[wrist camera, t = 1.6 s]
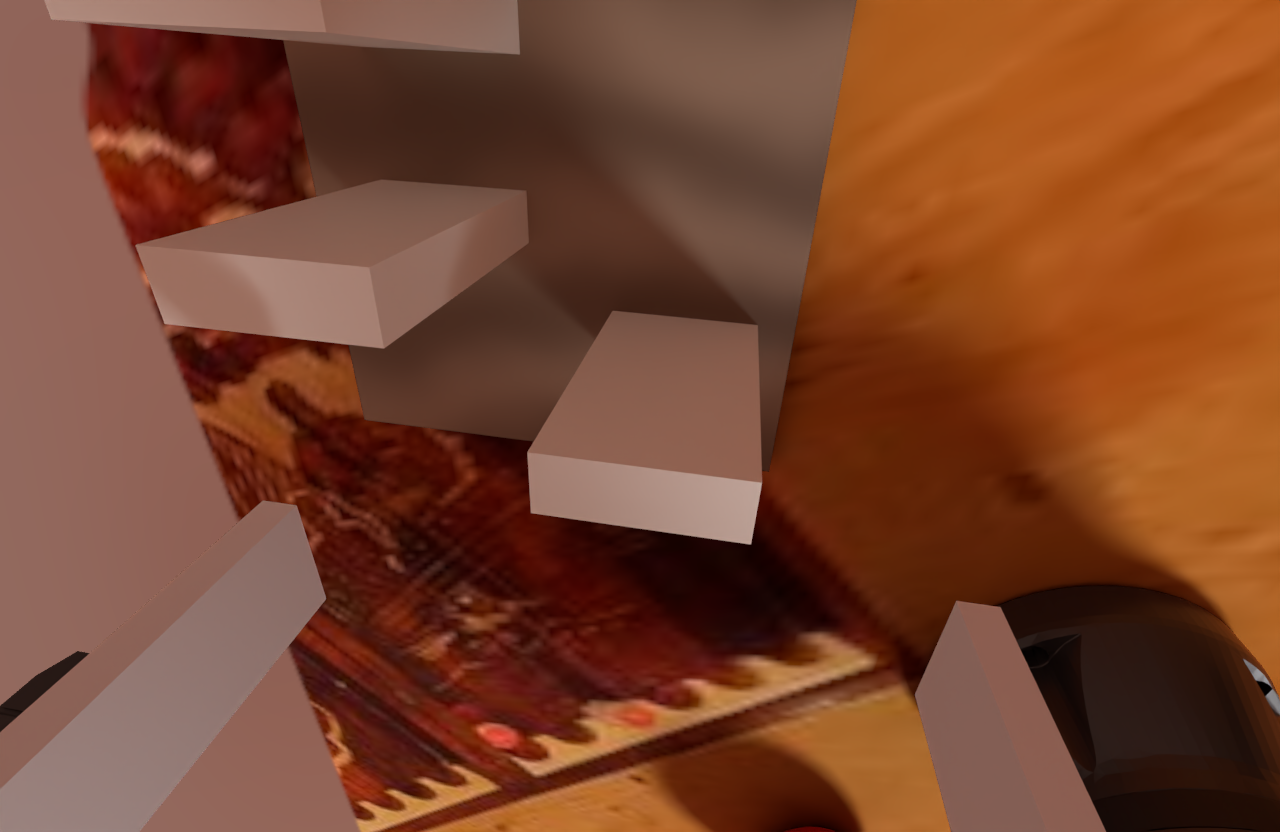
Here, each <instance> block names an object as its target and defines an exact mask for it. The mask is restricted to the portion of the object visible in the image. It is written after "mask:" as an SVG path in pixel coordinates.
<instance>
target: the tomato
mask: <svg viewBox="0 0 1280 832" xmlns="http://www.w3.org/2000/svg"><path fill="white" fill-rule="evenodd" d="M784 832H836V831H833V830H830V829H826V828H821V827H801V828H795V829H791V830H787V831H784Z"/></svg>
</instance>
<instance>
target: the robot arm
mask: <svg viewBox="0 0 1280 832" xmlns="http://www.w3.org/2000/svg"><path fill="white" fill-rule="evenodd" d="M325 600H326V596H325V593H324V590H323V587H322V584H321V580H320V577H319V574H318V571H317V568H316V565H315V562H314V558H313V555H312V552H311V549H310V546H309V543H308V539H307V536H306V533H305V530H304V527H303V524H302V521H301V517H300V514H299V511H298V508H297V505H291V504H284V503H277V502H270V501H262V502H261V503H260V504H258V505H257V506H256V507H255V508H254V509H253V510H252V511H251V512H249V513H248V514H247V515H246V516H245V517H244V518H243V519H241V520H240V521H239V522H238V523H237V524H236V525H235V526H234V527H232V528H231V529H230V530H229V531H228V532H227V533H226V534H224V535H223V536H222V537H221V538H220V539H219V540H218V541H216V542H215V543H214V544H213V545H212V546H211V547H210V548H209V549H207V550H206V551H205V552H204V553H203V554H202V555H201V556H199V557H198V558H197V559H196V560H195V561H194V562H193V563H192V564H190V565H189V566H188V567H187V568H186V569H185V570H184V571H183V572H181V573H180V574H179V575H178V576H177V577H176V578H175V579H173V580H172V581H171V582H170V583H169V584H168V585H167V586H166V587H164V588H163V589H162V590H161V591H160V592H159V593H158V594H156V595H155V596H154V597H153V598H152V599H151V600H150V601H148V602H147V603H146V604H145V605H144V606H143V607H142V608H140V609H139V610H138V611H137V612H136V613H135V614H134V615H133V616H131V617H130V618H129V619H128V620H127V621H126V622H125V623H124V624H122V625H121V626H120V627H119V628H118V629H117V630H116V631H114V632H113V633H112V634H111V635H110V636H109V637H108V638H107V639H105V640H104V641H103V642H102V643H101V644H100V645H99V646H97V647H96V648H95V649H94V650H93V651H92V652H91V653H85V652H79V651H77V652H76V653H74V654H72V655H71V656H69V657H67V658H65V659H64V660H62V661H60V662H59V663H57V664H55V665H53V666H52V667H50V668H48V669H47V670H45V671H43V672H41V673H40V674H38V675H36V676H35V677H34V678H33V679H31V680H30V681H29V682H28V683H27V684H26V685H24V686H23V687H22V688H21V689H20V690H19V691H17V692H16V693H15V694H14V695H13V696H11V697H10V698H9V699H8V700H7V701H6V702H4V703H3V704H2V705H1V706H0V832H139V831H140V830H141V829H142V828H143V827H144V825H145V824H146V823H147V822H148V820H149V819H150V818H151V817H152V815H153V814H154V813H155V812H156V810H157V809H158V808H159V807H160V805H161V804H162V803H163V801H164V800H165V799H166V798H167V797H168V795H169V794H170V793H171V792H172V790H173V789H174V788H175V786H176V785H177V784H178V783H179V782H180V780H181V779H182V778H183V777H184V775H185V774H186V773H187V772H188V770H189V769H190V768H191V767H192V765H193V764H194V763H195V762H196V760H197V759H198V758H199V757H200V755H201V754H202V753H203V752H204V750H205V749H206V748H207V747H208V746H209V744H210V743H211V742H212V741H213V739H214V738H215V737H216V736H217V734H218V733H219V732H220V730H221V729H222V728H223V727H224V726H225V724H226V723H227V722H228V721H229V719H230V718H231V717H232V716H233V714H234V713H235V712H236V710H237V709H238V708H239V707H240V706H241V704H242V703H243V702H244V701H245V699H246V698H247V696H249V694H250V693H251V692H252V690H253V689H254V688H255V687H256V686H257V684H258V683H259V682H260V681H261V679H262V678H263V677H264V676H265V674H266V673H267V672H268V671H269V670H270V668H271V667H272V666H273V664H274V663H275V662H276V661H277V659H278V658H279V657H280V656H281V655H282V653H283V652H284V650H286V648H287V647H288V646H289V645H290V643H291V642H292V641H293V640H294V638H295V637H296V636H297V635H298V633H299V632H300V631H301V630H302V628H303V627H304V626H305V625H306V623H307V622H308V621H309V620H310V618H311V617H312V616H313V615H314V613H315V612H316V611H317V610H318V608H319V607H320V606H321V605H322V603H323V602H324V601H325ZM915 698H916V701H917V705H918V709H919V713H920V716H921V720H922V724H923V728H924V731H925V735H926V739H927V743H928V746H929V750H930V754H931V758H932V761H933V765H934V769H935V773H936V776H937V780H938V784H939V788H940V791H941V795H942V799H943V803H944V806H945V810H946V814H947V818H948V821H949V825H950V829H951V832H1280V700H1279V697H1278V694H1277V692H1276V689H1275V687H1274V685H1273V683H1272V681H1271V679H1270V678H1269V676H1268V674H1267V673H1266V671H1265V670H1264V668H1263V667H1262V665H1261V664H1260V663H1259V662H1258V661H1257V660H1256V658H1255V657H1254V656H1253V655H1252V654H1251V653H1250V652H1249V650H1248V649H1247V648H1246V647H1245V646H1244V645H1243V643H1242V642H1241V641H1240V640H1239V639H1238V638H1237V637H1236V635H1235V634H1234V633H1233V632H1232V631H1231V630H1230V629H1229V628H1228V627H1227V626H1226V625H1225V624H1224V623H1223V622H1222V621H1221V620H1220V619H1218V618H1217V617H1216V616H1214V615H1213V614H1211V613H1210V612H1208V611H1207V610H1205V609H1203V608H1201V607H1199V606H1197V605H1195V604H1193V603H1191V602H1188V601H1186V600H1183V599H1180V598H1178V597H1175V596H1171V595H1168V594H1165V593H1160V592H1156V591H1152V590H1146V589H1140V588H1132V587H1121V586H1082V587H1070V588H1063V589H1056V590H1050V591H1045V592H1040V593H1036V594H1032V595H1028V596H1025V597H1021V598H1018V599H1015V600H1012V601H1009V602H1007V603H1004V604H1001V605H999V606H990V605H983V604H976V603H969V602H962V601H956V603H955V605H954V607H953V609H952V612H951V614H950V616H949V618H948V621H947V623H946V625H945V627H944V630H943V632H942V634H941V636H940V639H939V641H938V643H937V646H936V648H935V650H934V652H933V655H932V657H931V659H930V661H929V663H928V665H927V667H926V670H925V673H924V675H923V677H922V679H921V682H920V684H919V686H918V688H917V691H916V693H915Z"/></svg>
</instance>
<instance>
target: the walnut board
mask: <svg viewBox="0 0 1280 832" xmlns="http://www.w3.org/2000/svg"><path fill="white" fill-rule="evenodd" d="M856 1H857V0H517V3H518V24H519V45H520V55H519V54H499V53H478V52H458V51H437V50H417V49H396V48H376V47H357V46H346V45H334V44H323V43H312V42H300V41H289V40H283V42H284V47H285V51H286V56H287V61H288V65H289V70H290V75H291V79H292V84H293V89H294V93H295V98H296V103H297V107H298V112H299V116H300V121H301V126H302V130H303V135H304V140H305V144H306V149H307V154H308V158H309V163H310V168H311V172H312V177H313V182H314V186H315V191H316V196H321V195H325V194H329V193H332V192H336V191H340V190H344V189H347V188H351V187H355V186H359V185H363V184H366V183H370V182H374V181H378V180H394V181H407V182H420V183H433V184H446V185H459V186H472V187H486V188H499V189H512V190H525V191H526V193H527V214H528V235H529V243H528V244H527V245H525V246H524V247H523V248H521V249H520V250H519V251H517V252H516V253H514V254H513V255H512V256H510V257H509V258H508V259H506V260H505V261H503V262H502V263H501V264H499V265H498V266H497V267H495V268H494V269H492V270H491V271H490V272H488V273H487V274H486V275H484V276H483V277H482V278H480V279H479V280H477V281H476V282H475V283H473V284H472V285H471V286H469V287H468V288H466V289H465V290H464V291H462V292H461V293H460V294H458V295H457V296H455V297H454V298H453V299H451V300H450V301H449V302H447V303H446V304H444V305H443V306H442V307H440V308H439V309H438V310H436V311H435V312H434V313H432V314H431V315H429V316H428V317H427V318H425V319H424V320H423V321H421V322H420V323H418V324H417V325H416V326H414V327H413V328H412V329H410V330H409V331H407V332H406V333H405V334H403V335H402V336H401V337H399V338H398V339H396V340H395V341H394V342H392V343H391V344H390V345H388V346H387V347H385V348H384V349H383V348H375V347H366V346H357V345H349V350H350V354H351V359H352V364H353V368H354V373H355V378H356V382H357V387H358V392H359V396H360V401H361V406H362V410H363V415H364V420H370V421H377V422H385V423H393V424H401V425H409V426H417V427H424V428H432V429H440V430H448V431H456V432H463V433H471V434H479V435H487V436H495V437H502V438H510V439H518V440H526V441H534V440H535V439H536V437H537V435H538V434H539V432H540V430H541V429H542V427H543V425H544V424H545V422H546V420H547V419H548V417H549V415H550V414H551V412H552V410H553V409H554V407H555V405H556V404H557V402H558V400H559V399H560V397H561V395H562V394H563V392H564V391H565V389H566V387H567V386H568V384H569V382H570V381H571V379H572V377H573V376H574V374H575V372H576V371H577V369H578V367H579V366H580V364H581V362H582V361H583V359H584V357H585V356H586V354H587V352H588V351H589V349H590V347H591V346H592V344H593V342H594V341H595V339H596V337H597V336H598V334H599V332H600V331H601V329H602V327H603V326H604V324H605V323H606V321H607V319H608V318H609V316H610V314H611V313H612V311H621V312H631V313H641V314H651V315H661V316H671V317H681V318H691V319H702V320H712V321H722V322H732V323H742V324H752V325H758V350H759V386H760V423H761V459H762V471H768V472H769V468H770V463H771V458H772V452H773V447H774V442H775V436H776V431H777V425H778V420H779V415H780V409H781V404H782V399H783V393H784V388H785V382H786V377H787V372H788V366H789V361H790V356H791V350H792V345H793V339H794V334H795V329H796V323H797V318H798V313H799V307H800V302H801V296H802V291H803V286H804V280H805V275H806V269H807V264H808V259H809V253H810V248H811V243H812V237H813V232H814V226H815V221H816V216H817V210H818V205H819V200H820V194H821V189H822V183H823V178H824V173H825V167H826V162H827V157H828V151H829V146H830V140H831V135H832V130H833V124H834V119H835V114H836V108H837V103H838V97H839V92H840V87H841V81H842V76H843V71H844V65H845V60H846V54H847V49H848V44H849V38H850V33H851V28H852V22H853V17H854V11H855V6H856Z"/></svg>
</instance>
